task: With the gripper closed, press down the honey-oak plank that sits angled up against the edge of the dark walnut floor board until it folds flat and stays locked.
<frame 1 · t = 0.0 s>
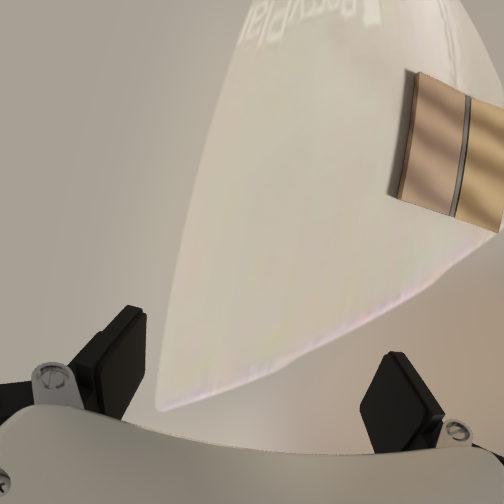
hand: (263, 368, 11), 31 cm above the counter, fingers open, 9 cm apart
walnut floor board: (435, 143, 37), on the counter
oak plank: (487, 163, 34), point 3 cm above the counter, hinge at 30.0°
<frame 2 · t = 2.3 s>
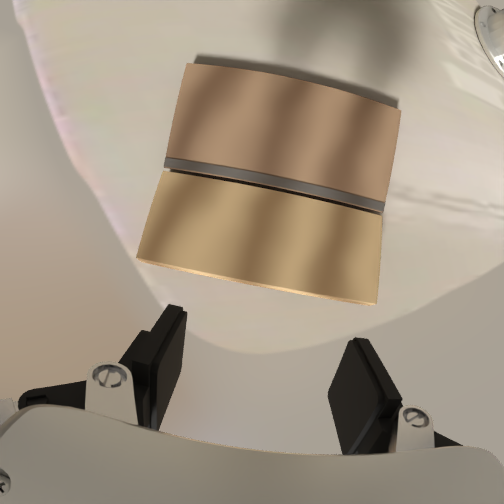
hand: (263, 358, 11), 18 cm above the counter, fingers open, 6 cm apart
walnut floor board: (286, 133, 26), on the counter
oak plank: (266, 237, 25), point 3 cm above the counter, hinge at 30.0°
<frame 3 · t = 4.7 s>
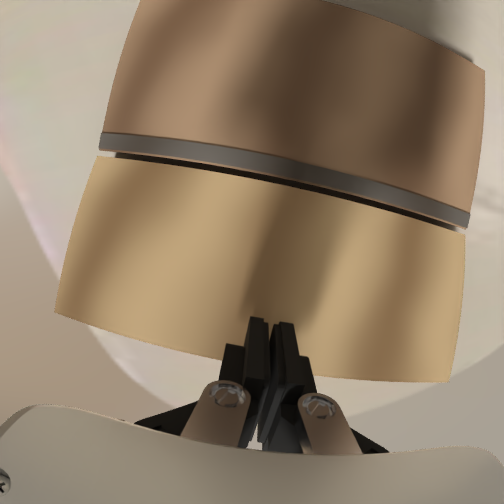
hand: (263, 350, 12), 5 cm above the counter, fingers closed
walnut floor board: (311, 88, 14), on the counter
oak plank: (278, 276, 13), point 3 cm above the counter, hinge at 25.6°, touching gripper
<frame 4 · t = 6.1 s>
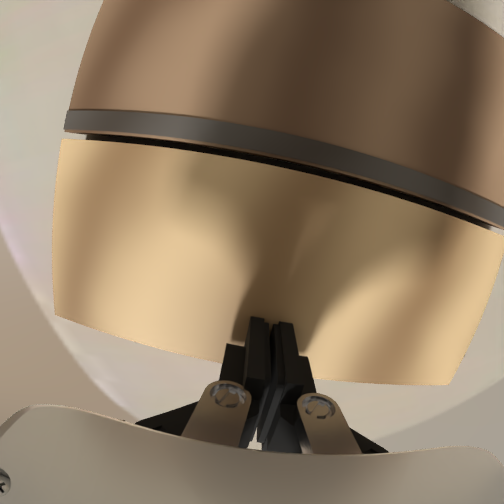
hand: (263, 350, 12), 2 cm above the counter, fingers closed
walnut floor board: (328, 55, 10), on the counter
oak plank: (285, 277, 12), point 1 cm above the counter, hinge at 0.8°, touching gripper
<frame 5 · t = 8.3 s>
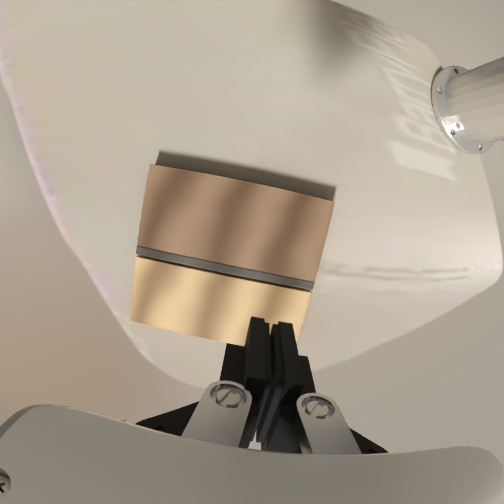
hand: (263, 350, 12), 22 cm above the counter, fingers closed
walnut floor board: (232, 225, 33), on the counter
oak plank: (216, 306, 34), point 1 cm above the counter, hinge at 0.7°
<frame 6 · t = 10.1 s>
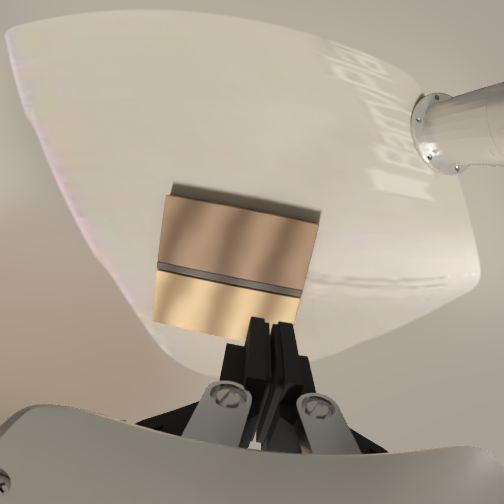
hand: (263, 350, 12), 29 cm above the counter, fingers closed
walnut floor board: (235, 244, 41), on the counter
oak plank: (223, 309, 42), point 1 cm above the counter, hinge at 0.7°
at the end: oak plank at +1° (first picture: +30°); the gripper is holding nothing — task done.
